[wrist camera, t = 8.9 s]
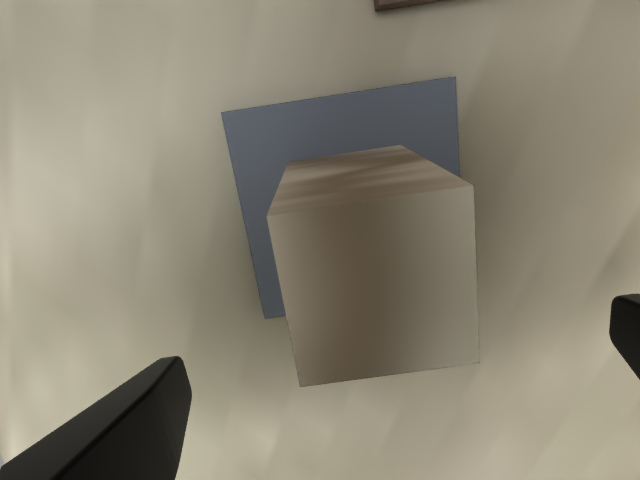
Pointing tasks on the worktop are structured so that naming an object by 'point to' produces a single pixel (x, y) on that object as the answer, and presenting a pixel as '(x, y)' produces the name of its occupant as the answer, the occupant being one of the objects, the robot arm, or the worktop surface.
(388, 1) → the walnut collar
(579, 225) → the worktop surface
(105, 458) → the robot arm
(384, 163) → the beech block
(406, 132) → the rubber mat
